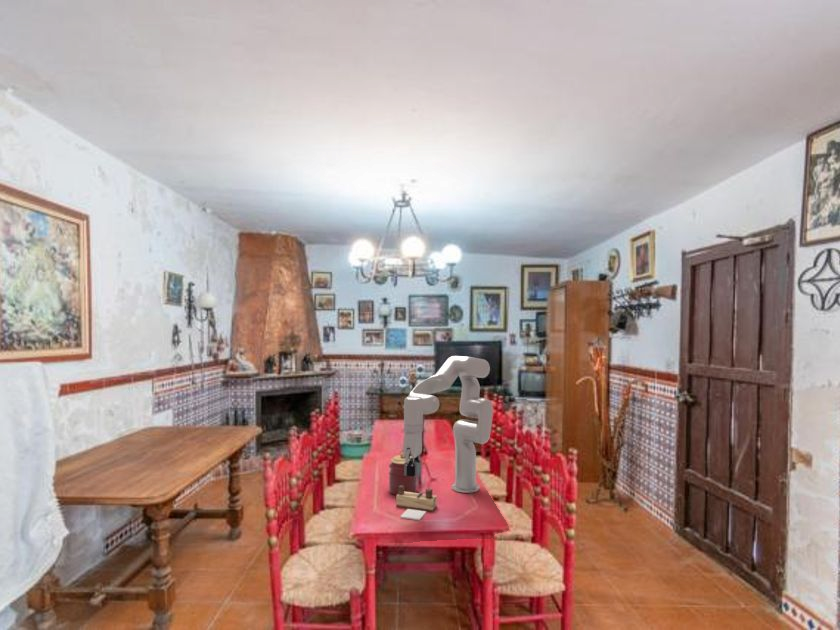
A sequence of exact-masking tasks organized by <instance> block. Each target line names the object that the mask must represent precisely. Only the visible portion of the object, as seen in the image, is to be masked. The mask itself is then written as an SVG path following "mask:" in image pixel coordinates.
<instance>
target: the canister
mask: <svg viewBox="0 0 840 630" xmlns="http://www.w3.org/2000/svg"><path fill="white" fill-rule="evenodd" d="M410 458H412V456H410ZM405 462H406V461H405V458H403V451H402V452H400V454H397V455H394V457H392V458H391V459H390V463H389V464H388V467H389V472H388V476H389V477H388V481H389V482H388V483H389V484H388V489H389V490H388V491H389V493H390V494H392V495H395V496H396V495H397V494H398V487H399V486H400V485H402V486H404V491H405V492H413V493H417V490H418V477H412V476H404V463H405Z"/></svg>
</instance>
